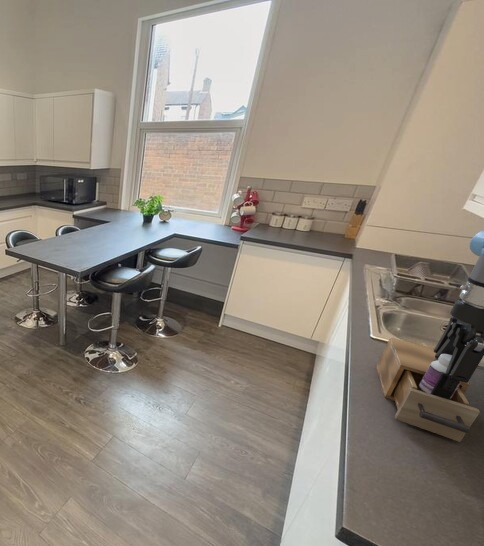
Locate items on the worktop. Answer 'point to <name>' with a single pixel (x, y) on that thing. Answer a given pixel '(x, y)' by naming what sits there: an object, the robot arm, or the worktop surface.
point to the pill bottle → (435, 373)
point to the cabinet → (404, 363)
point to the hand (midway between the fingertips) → (434, 390)
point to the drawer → (432, 408)
